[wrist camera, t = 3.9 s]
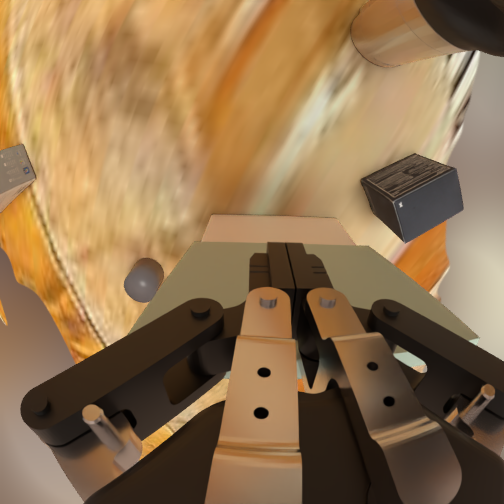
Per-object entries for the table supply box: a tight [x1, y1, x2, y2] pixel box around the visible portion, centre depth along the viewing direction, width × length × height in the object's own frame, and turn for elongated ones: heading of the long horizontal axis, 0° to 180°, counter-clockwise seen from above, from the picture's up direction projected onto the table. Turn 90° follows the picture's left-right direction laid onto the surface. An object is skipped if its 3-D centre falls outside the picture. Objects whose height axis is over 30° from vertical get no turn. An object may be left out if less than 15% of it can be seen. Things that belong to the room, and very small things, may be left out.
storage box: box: [201, 214, 356, 246], centre depth 38 cm, size 18×18×12 cm
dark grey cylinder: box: [124, 258, 164, 303], centre depth 42 cm, size 5×5×5 cm
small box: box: [361, 154, 463, 243], centre depth 33 cm, size 11×6×10 cm, turn 119°
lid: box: [128, 241, 480, 379], centre depth 19 cm, size 18×18×1 cm
